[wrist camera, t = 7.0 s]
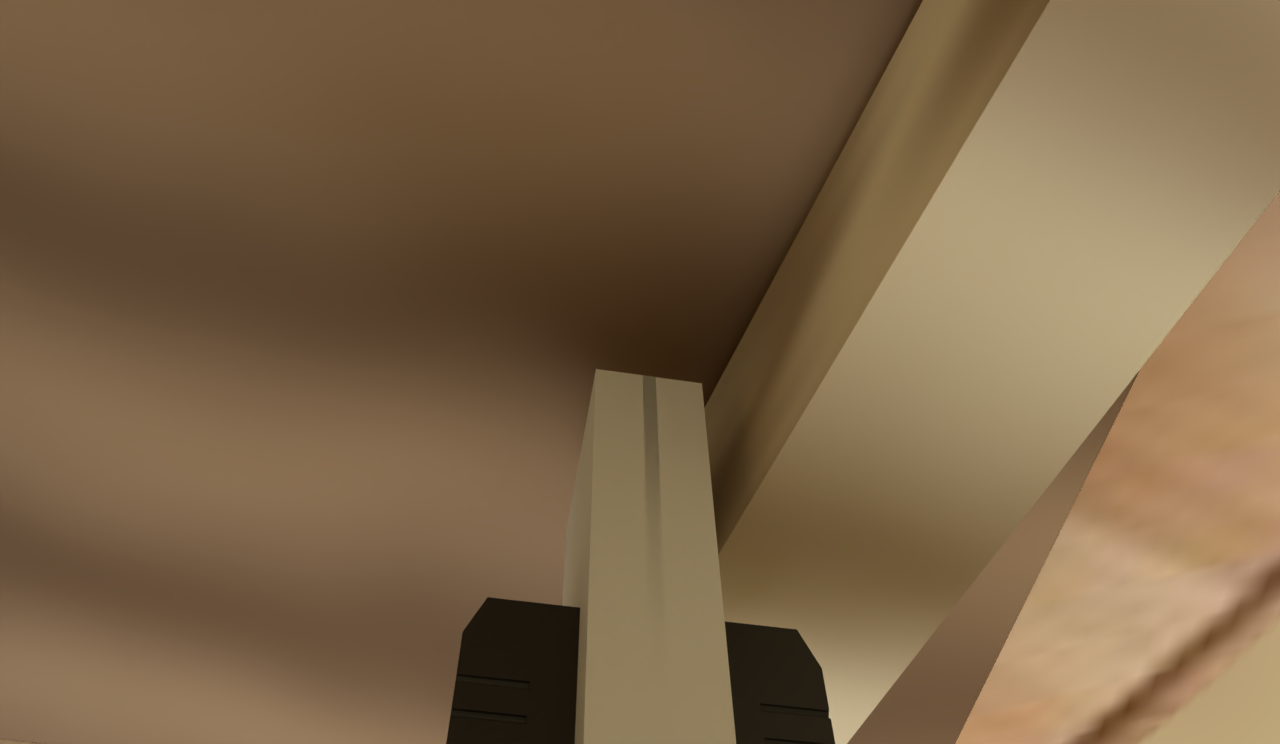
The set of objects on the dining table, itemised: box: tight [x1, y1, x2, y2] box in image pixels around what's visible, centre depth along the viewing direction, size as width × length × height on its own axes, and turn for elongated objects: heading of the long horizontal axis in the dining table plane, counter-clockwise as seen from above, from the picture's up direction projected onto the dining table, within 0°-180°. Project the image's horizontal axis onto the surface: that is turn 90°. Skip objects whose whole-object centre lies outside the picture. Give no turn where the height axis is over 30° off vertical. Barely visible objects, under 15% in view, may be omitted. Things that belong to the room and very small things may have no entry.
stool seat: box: [0, 0, 1140, 744], centre depth 17 cm, size 22×18×2 cm
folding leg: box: [704, 0, 1280, 744], centre depth 14 cm, size 21×3×4 cm, turn 158°
